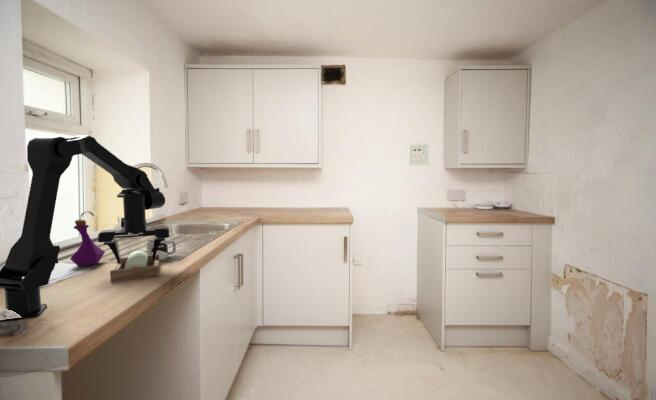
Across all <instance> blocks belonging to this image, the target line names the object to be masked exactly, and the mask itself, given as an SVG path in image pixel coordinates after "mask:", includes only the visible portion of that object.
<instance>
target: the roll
mask: <svg viewBox="0 0 656 400" xmlns="http://www.w3.org/2000/svg"><path fill="white" fill-rule="evenodd" d="M127 257H128V259H127V262H126V264H125V267H124V269H129V268H138V267H148V265H147V260H148V257H147V252H145V251H141V250H135V251H133V252H131V253H130V254H129V255H128V256H127Z"/></svg>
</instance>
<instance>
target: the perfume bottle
mask: <svg viewBox="0 0 656 400" xmlns="http://www.w3.org/2000/svg"><path fill="white" fill-rule="evenodd" d="M86 213H88V214H90V215H91V216H92V217H93V218H95V214H94V213H93V212H92V211H90V210H87V211H86V210H85V211H84V212H82V213H81V214H80V218H79V219H76V220H75V221H74V223H75V225H74V226H73V229H75V230H77V232H79V234H80V237H81V244H80V246H79V247H78V248H77V250H76V251H75V252H74V253H73V254H72V255H71V257H69V258H70V261H72V262H73V263H74V264H75V265H77V267H79V266H87V267H94V266H96V265H97V264H98V263H99V262H100V261H101V259H102V258H103V256H104V254H105V253H106V252H105V251H104V250H103V249H102V248H101V247H100V246H98V245H97V244H95V242H94V241H93V240H92V238H91V236H90V235H89V234H88V228H89V227H90V226H89V224H87V220H85V219H82V217H83V216H84V215H85V214H86Z"/></svg>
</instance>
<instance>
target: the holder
mask: <svg viewBox="0 0 656 400" xmlns="http://www.w3.org/2000/svg"><path fill="white" fill-rule="evenodd" d="M146 255H147V254H146ZM128 257H129V256H124V257H120V263H118V261H117V260H116V265H115V267H114V269H112V270H110V271H109V273H110V275H109V277H110V283H113V282H121V281H129V280H138V279H147V278H148V277H149V278H155V277H156V276H157V277H159V273H160V272H159V271H160V261H159V254H156V255H155V259H154V260H153V255H147V257H148V260H147V266H146V267H138V268H129V269H125V264H126V262H127V259H128ZM122 268H123V269H122Z"/></svg>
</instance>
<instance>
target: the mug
mask: <svg viewBox="0 0 656 400" xmlns="http://www.w3.org/2000/svg"><path fill="white" fill-rule="evenodd" d="M169 244H170V245H171V244H172V250H170V251H169V250H168V249H169V248H168V245H169ZM176 246H177V245H176V241H175V240H168V239H167V238H165V240H164V241H161V242H160V245H159V247H158V249H157V252H156V254H159V262H161V260H162V261H166V260H168V259H169V256H170V255H173V254H175V253H176V249H177V247H176ZM153 247H154V238H153V239H152V238H151V239H148V240H146V255H153ZM167 258H168V259H167ZM165 259H166V260H165Z"/></svg>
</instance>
